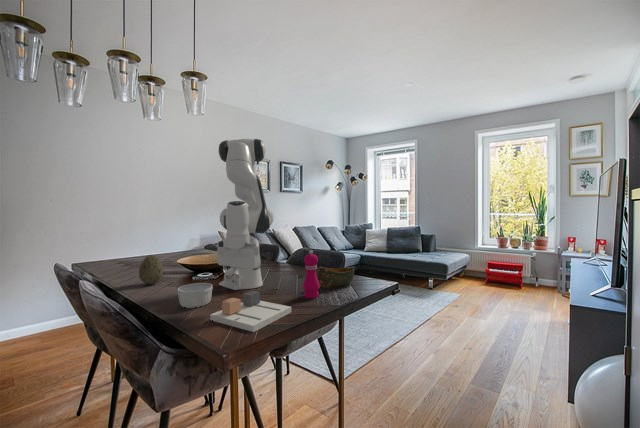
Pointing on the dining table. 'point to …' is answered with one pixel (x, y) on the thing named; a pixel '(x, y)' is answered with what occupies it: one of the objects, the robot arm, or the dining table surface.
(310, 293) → the pepper mill
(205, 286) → the ramekin
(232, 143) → the robot arm
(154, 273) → the decorative egg
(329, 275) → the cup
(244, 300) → the block
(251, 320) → the fader panel
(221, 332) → the dining table surface
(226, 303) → the block
